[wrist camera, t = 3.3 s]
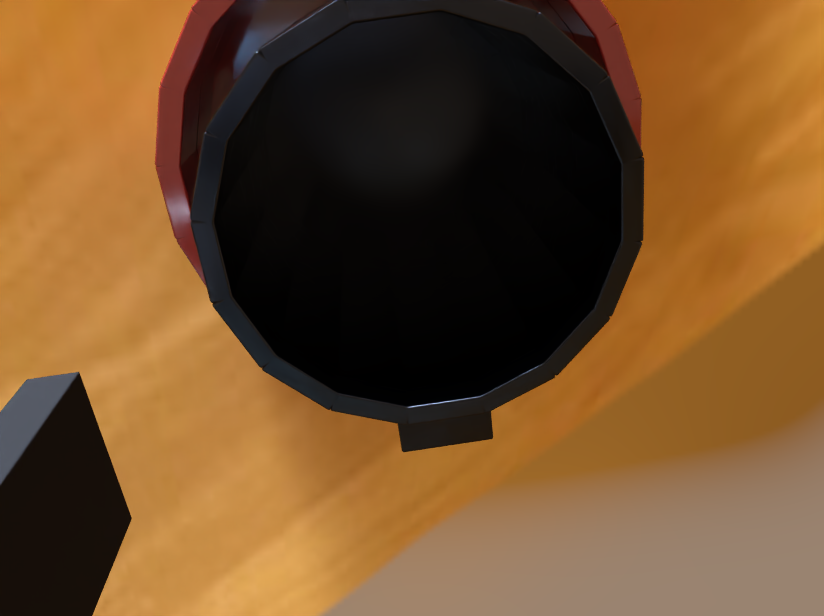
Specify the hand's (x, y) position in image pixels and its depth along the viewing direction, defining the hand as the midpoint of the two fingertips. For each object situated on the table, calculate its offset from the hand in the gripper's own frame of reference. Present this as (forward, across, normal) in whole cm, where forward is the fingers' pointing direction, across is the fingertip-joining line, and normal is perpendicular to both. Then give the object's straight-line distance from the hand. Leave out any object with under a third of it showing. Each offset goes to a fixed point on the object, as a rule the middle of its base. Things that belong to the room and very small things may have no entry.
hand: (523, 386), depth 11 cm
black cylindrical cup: (+20, -1, 0) cm, 20 cm away
